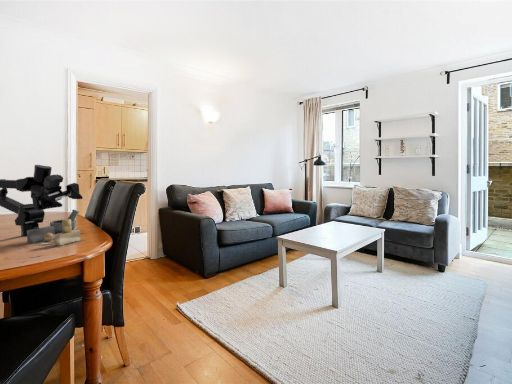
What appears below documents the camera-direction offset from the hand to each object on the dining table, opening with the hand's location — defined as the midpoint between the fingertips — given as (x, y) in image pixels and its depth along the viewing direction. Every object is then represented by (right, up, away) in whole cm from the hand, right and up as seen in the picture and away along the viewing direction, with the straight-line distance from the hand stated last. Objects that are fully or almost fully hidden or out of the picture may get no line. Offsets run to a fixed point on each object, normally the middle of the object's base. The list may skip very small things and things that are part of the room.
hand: (72, 201), depth 118 cm
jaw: (+2, -16, -5) cm, 17 cm away
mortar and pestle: (-11, -17, +13) cm, 24 cm away
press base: (-4, -18, -4) cm, 19 cm away
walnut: (-8, -16, -3) cm, 18 cm away
